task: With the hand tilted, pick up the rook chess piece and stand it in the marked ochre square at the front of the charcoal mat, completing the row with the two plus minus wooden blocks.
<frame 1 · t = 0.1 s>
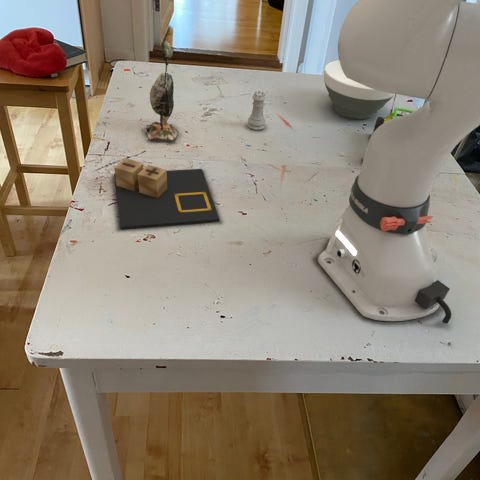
plus minus wooden blocks: (141, 177, 91), on the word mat, point 3 cm above the table
bowl: (353, 111, 126), on the table
motor vehicle: (391, 154, 111), on the table
rook chess piece: (256, 127, 115), on the table
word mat: (164, 197, 92), on the table
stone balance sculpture: (162, 133, 110), on the table
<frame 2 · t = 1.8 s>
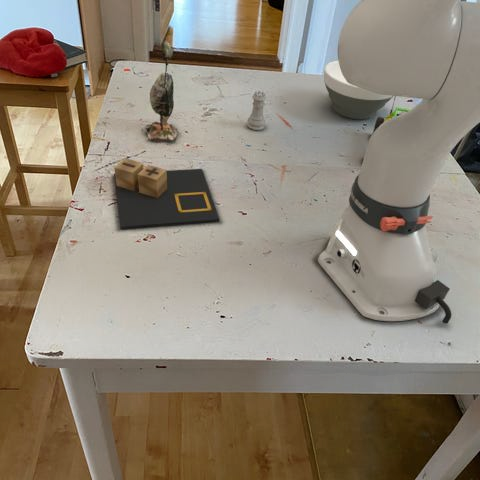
nothing on the table moved.
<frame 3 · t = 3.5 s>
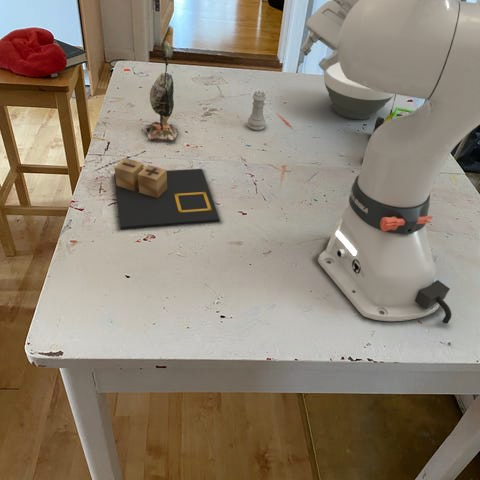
hand: (311, 60, 108), 14 cm above the table, tool tilted 45°, fingers open, 8 cm apart
nothing on the table moved.
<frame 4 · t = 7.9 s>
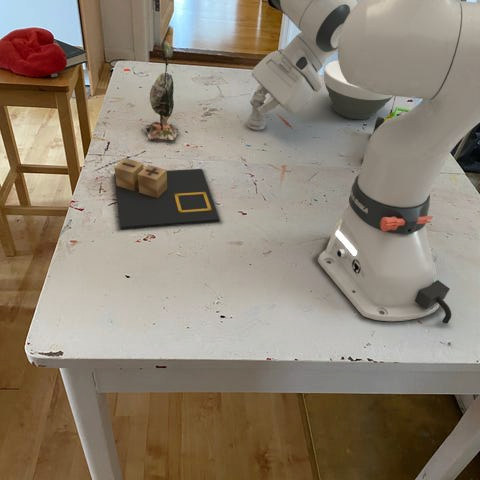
hand: (255, 109, 112), 4 cm above the table, tool tilted 45°, fingers closed on rook chess piece, 3 cm apart
rook chess piece: (255, 127, 115), on the table, touching gripper
everything else where it was.
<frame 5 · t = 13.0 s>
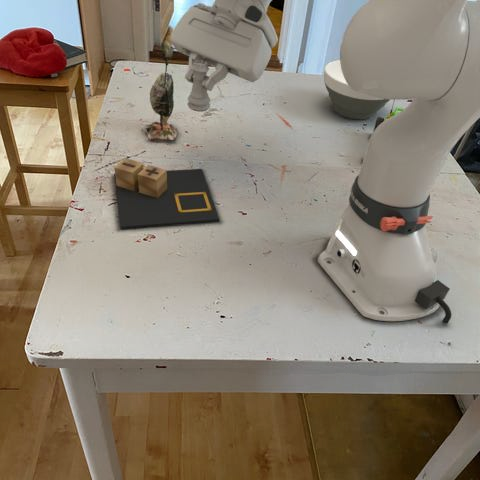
hand: (197, 84, 87), 17 cm above the table, tool tilted 45°, fingers closed on rook chess piece, 3 cm apart
rook chess piece: (198, 108, 91), point 13 cm above the table, touching gripper
everything else where it was.
when the fingers open (5 cm above the table, at t = 18.5 s): rook chess piece stays where it is, resting on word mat.
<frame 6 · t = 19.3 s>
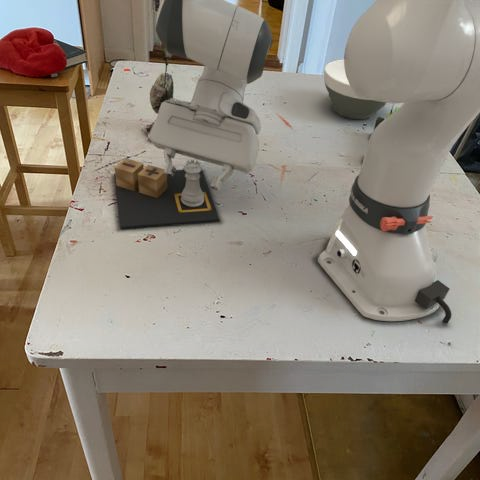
hand: (191, 182, 86), 5 cm above the table, tool tilted 45°, fingers open, 8 cm apart
rook chess piece: (192, 202, 91), resting on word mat
everything else where it was.
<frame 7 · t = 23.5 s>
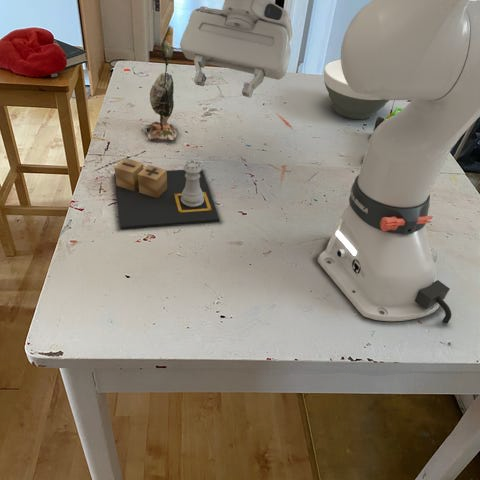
hand: (222, 89, 86), 17 cm above the table, tool tilted 45°, fingers open, 8 cm apart
nothing on the table moved.
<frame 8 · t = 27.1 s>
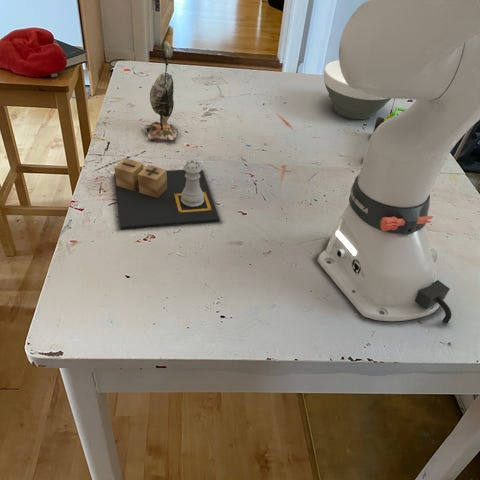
nothing on the table moved.
at the end: rook chess piece 0.2 cm from the target spot on the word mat, point 0.4 cm above the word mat's base; rook chess piece tilted 0°; the gripper is holding nothing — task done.
